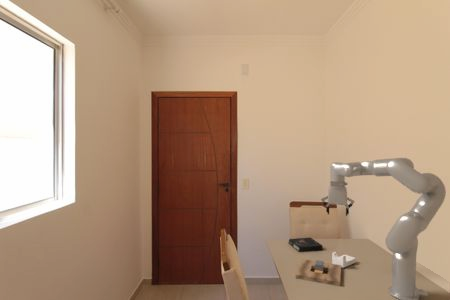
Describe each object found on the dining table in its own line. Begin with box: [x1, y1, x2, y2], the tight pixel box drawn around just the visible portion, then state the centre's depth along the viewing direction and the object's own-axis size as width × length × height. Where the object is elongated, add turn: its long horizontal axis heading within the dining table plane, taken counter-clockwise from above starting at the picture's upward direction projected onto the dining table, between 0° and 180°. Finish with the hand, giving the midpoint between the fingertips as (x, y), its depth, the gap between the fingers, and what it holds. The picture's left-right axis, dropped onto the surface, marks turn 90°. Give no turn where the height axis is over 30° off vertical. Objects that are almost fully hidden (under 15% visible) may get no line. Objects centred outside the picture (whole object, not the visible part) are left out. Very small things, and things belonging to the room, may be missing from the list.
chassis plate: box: [295, 258, 342, 287], centre depth 159 cm, size 22×22×2 cm
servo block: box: [314, 259, 325, 274], centre depth 159 cm, size 4×10×6 cm, turn 156°
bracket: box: [331, 251, 357, 269], centre depth 171 cm, size 13×7×8 cm, turn 125°
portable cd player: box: [288, 237, 323, 253], centre depth 199 cm, size 16×17×4 cm
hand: (337, 214), depth 162 cm, fingers open, 9 cm apart
